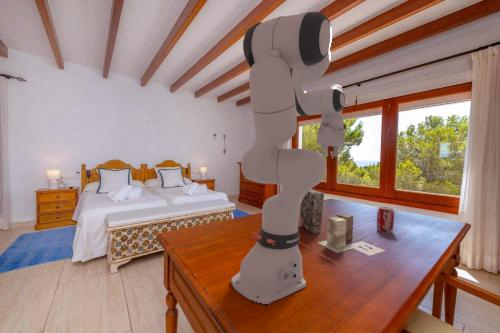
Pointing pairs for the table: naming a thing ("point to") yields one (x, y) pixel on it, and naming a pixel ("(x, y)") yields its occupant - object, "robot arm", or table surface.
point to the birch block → (336, 232)
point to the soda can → (385, 219)
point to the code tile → (366, 248)
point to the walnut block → (348, 225)
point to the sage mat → (347, 247)
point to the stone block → (312, 211)
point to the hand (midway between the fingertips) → (330, 156)
